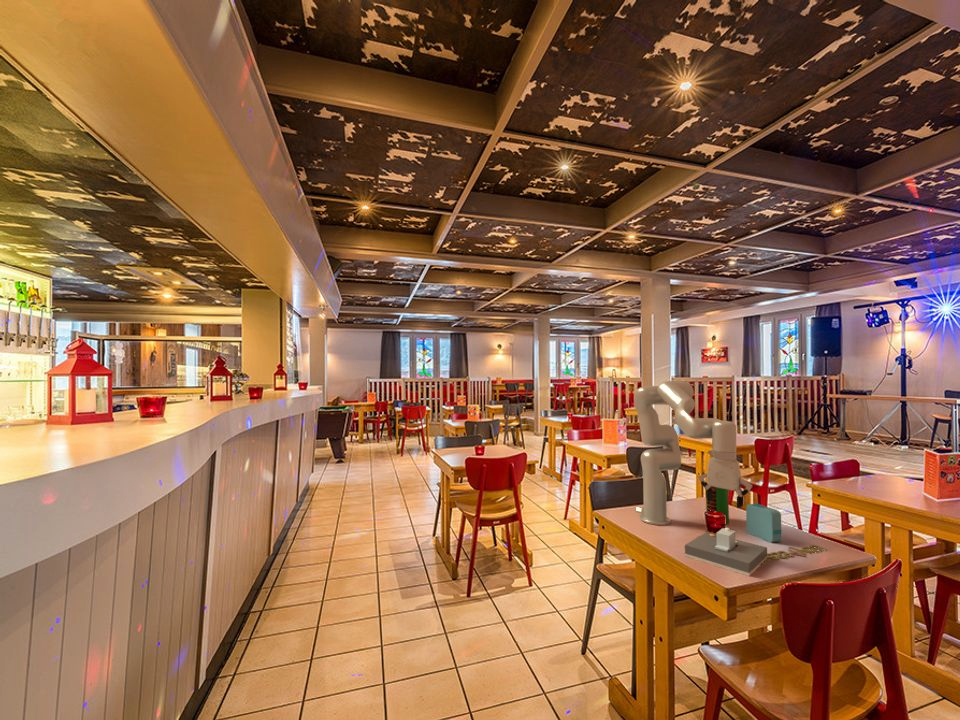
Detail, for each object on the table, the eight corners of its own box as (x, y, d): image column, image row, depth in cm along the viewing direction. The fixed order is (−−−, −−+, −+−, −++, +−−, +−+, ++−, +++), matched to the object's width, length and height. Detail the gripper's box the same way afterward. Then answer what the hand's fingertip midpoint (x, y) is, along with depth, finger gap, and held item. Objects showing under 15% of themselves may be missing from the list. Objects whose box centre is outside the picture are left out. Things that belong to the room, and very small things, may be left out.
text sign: (732, 559, 150) (753, 568, 142) (732, 557, 150) (753, 566, 142) (809, 545, 163) (832, 553, 156) (809, 543, 163) (832, 551, 156)
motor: (700, 517, 194) (699, 473, 195) (717, 516, 196) (716, 472, 197) (717, 524, 184) (716, 478, 185) (734, 523, 186) (733, 477, 187)
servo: (714, 557, 148) (714, 532, 148) (725, 548, 156) (724, 524, 156) (727, 561, 145) (726, 535, 145) (737, 551, 153) (737, 527, 153)
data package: (782, 542, 165) (781, 511, 165) (772, 543, 164) (772, 512, 164) (755, 531, 176) (754, 502, 177) (746, 532, 175) (745, 503, 176)
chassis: (685, 556, 151) (684, 544, 151) (706, 542, 164) (706, 531, 165) (749, 576, 136) (748, 562, 136) (767, 558, 149) (767, 546, 150)
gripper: (694, 453, 156) (694, 500, 155) (748, 461, 143) (748, 512, 142) (702, 451, 161) (702, 496, 160) (755, 458, 148) (755, 507, 147)
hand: (724, 503), depth 151 cm, fingers open, 9 cm apart
